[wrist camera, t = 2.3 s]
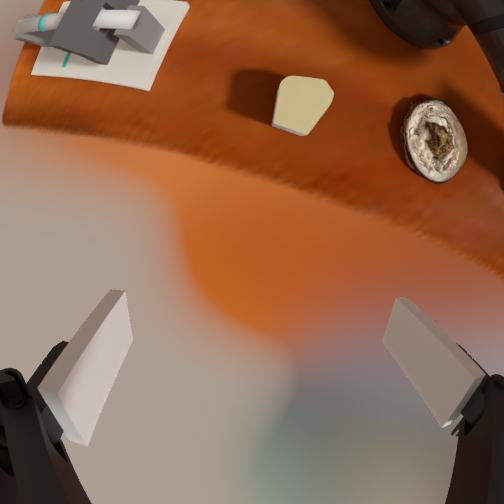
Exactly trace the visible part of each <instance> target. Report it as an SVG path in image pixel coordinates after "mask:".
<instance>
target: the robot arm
mask: <svg viewBox="0 0 504 504" xmlns="http://www.w3.org/2000/svg"><path fill="white" fill-rule="evenodd" d="M371 3H372V5H373V7H374V9H375V11H376V12H377V14H378V15H379V17H380V18H381V19H382V20H383V22H384V23H385V24H386V25H387V26H388V27H389V28H390V29H391V30H392V31H394V32H395V33H396V34H397V35H398V36H400V37H401V38H403V39H404V40H406V41H407V42H409V43H411V44H413V45H415V46H418V47H420V48H424V49H430V50H434V49H439V48H442V47H444V46H447V45H449V44H450V43H451V42H452V41H453V40H454V39H455V37H456V36H457V35H458V34H459V32H460V31H461V30H462V28H463V27H464V26H465V25H467V26H468V27H469V29H470V30H471V32H472V33H473V35H474V37H475V39H476V40H477V42H478V44H479V45H480V47H481V49H482V51H483V52H484V54H485V56H486V58H487V60H488V62H489V64H490V66H491V68H492V70H493V72H494V74H495V76H496V78H497V81H498V83H499V85H500V90H501V92H502V94H503V96H504V0H371ZM132 341H133V337H132V331H131V326H130V320H129V313H128V307H127V300H126V292H125V291H121V290H110V291H109V292H108V293H107V295H106V296H105V297H104V298H103V299H102V301H101V302H100V303H99V304H98V306H97V307H96V308H95V309H94V311H93V312H92V313H91V314H90V316H89V317H88V318H87V319H86V321H85V322H84V323H83V325H82V326H81V327H80V328H79V330H78V331H77V332H76V334H75V335H74V336H73V338H72V339H71V340H70V342H65V341H62V342H61V343H59V344H57V345H56V346H54V347H53V348H52V350H51V351H50V352H49V353H48V355H47V358H45V359H44V360H43V361H42V364H40V366H39V367H38V368H37V370H36V371H35V372H34V374H33V375H32V377H31V378H30V380H29V381H28V382H27V384H26V382H25V380H24V378H23V376H22V374H21V373H20V372H19V371H18V370H17V369H13V368H5V369H3V370H0V504H92V503H91V502H90V500H89V498H88V496H87V494H86V492H85V491H84V489H83V487H82V485H81V483H80V481H79V479H78V477H77V474H76V472H75V470H74V468H73V466H72V464H71V461H70V459H69V457H68V454H67V452H66V449H65V447H64V444H63V442H62V441H61V439H60V438H61V435H62V433H63V432H64V433H65V434H66V436H67V437H68V439H69V440H70V441H73V442H75V443H78V444H82V445H85V446H88V444H89V442H90V439H91V436H92V434H93V431H94V428H95V426H96V423H97V421H98V418H99V416H100V413H101V411H102V408H103V406H104V404H105V401H106V399H107V396H108V394H109V392H110V389H111V387H112V385H113V383H114V380H115V378H116V376H117V373H118V371H119V369H120V367H121V365H122V362H123V360H124V358H125V356H126V354H127V351H128V349H129V347H130V345H131V343H132ZM382 343H383V344H384V345H385V347H386V348H387V349H388V351H389V352H390V353H391V355H392V356H393V358H394V359H395V360H396V362H397V363H398V365H399V366H400V367H401V369H402V370H403V371H404V373H405V374H406V376H407V377H408V379H409V380H410V382H411V383H412V384H413V386H414V387H415V389H416V390H417V392H418V393H419V395H420V396H421V398H422V399H423V400H424V402H425V403H426V405H427V406H428V408H429V409H430V411H431V412H432V414H433V415H434V417H435V418H436V420H437V421H438V423H439V425H440V426H441V427H445V426H447V425H449V424H452V423H454V421H455V420H456V419H457V417H458V416H459V414H460V413H461V414H462V415H463V416H464V417H463V418H462V420H461V421H460V422H459V424H458V425H457V426H456V427H455V429H454V430H453V431H452V434H451V435H454V433H455V432H456V431H457V430H459V432H458V433H457V435H456V436H458V444H457V451H456V457H455V463H454V468H453V474H452V478H451V483H450V487H449V491H448V495H447V499H446V502H445V504H504V377H503V376H501V375H497V374H494V375H492V376H491V377H490V376H489V375H488V374H487V373H486V372H485V371H484V370H483V369H482V367H481V366H480V365H479V364H478V363H477V362H476V361H475V360H474V359H472V357H471V356H470V355H469V354H467V352H466V351H465V350H464V349H463V348H462V347H461V346H460V345H458V344H457V343H455V342H454V341H453V340H452V339H451V338H450V337H449V336H448V335H447V334H446V333H445V332H444V331H443V330H442V329H441V328H440V327H439V326H438V325H437V324H435V323H434V322H433V321H432V320H431V319H430V318H429V317H428V316H427V315H426V314H425V313H424V312H423V311H422V310H421V309H419V308H418V307H417V306H416V305H415V304H414V303H413V302H412V301H411V300H409V299H408V298H407V297H403V298H396V300H395V303H394V306H393V309H392V313H391V316H390V319H389V322H388V325H387V328H386V331H385V334H384V337H383V340H382Z"/></svg>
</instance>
